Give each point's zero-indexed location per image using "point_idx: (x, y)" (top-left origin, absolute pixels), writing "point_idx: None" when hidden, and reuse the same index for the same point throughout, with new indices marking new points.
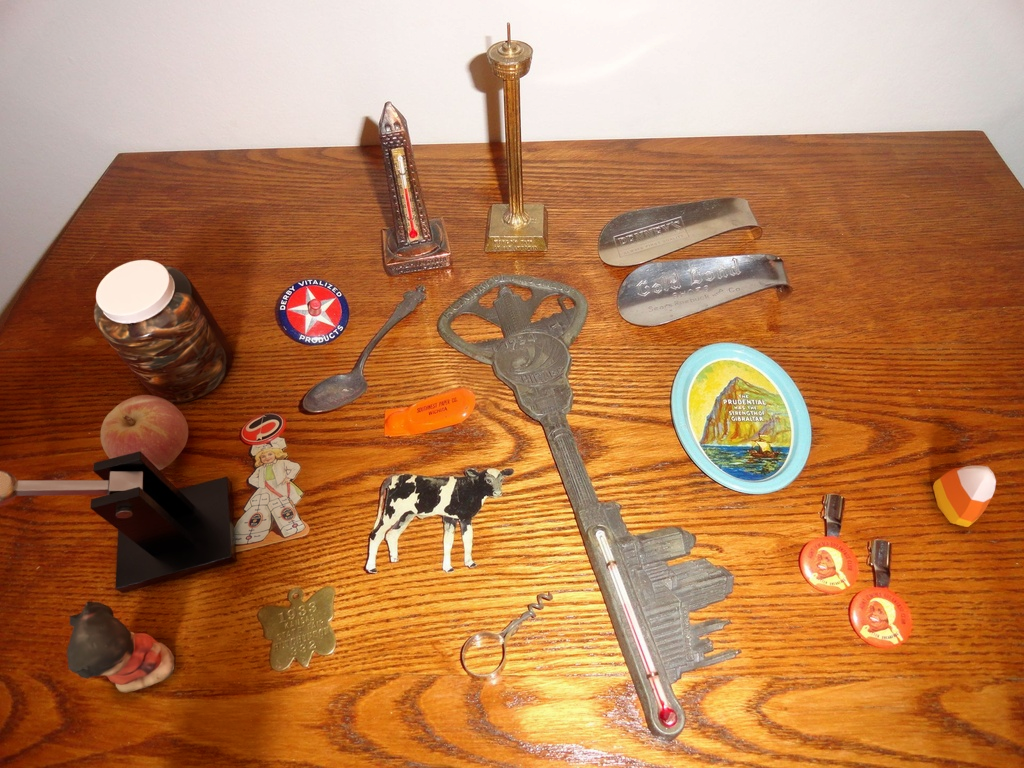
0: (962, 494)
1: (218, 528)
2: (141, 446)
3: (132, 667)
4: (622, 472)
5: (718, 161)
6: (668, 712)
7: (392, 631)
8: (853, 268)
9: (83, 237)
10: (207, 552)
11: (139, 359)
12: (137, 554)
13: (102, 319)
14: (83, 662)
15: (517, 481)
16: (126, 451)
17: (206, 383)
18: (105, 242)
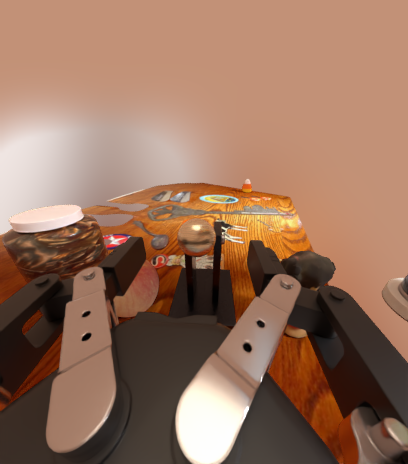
0: (248, 185)
1: (211, 272)
2: (151, 270)
3: None
4: (226, 208)
5: (151, 190)
6: (287, 213)
7: (267, 241)
8: (193, 188)
9: None
10: (224, 277)
11: (87, 251)
12: (213, 310)
13: (40, 236)
14: (328, 259)
15: (222, 218)
16: (148, 277)
17: None
18: None
